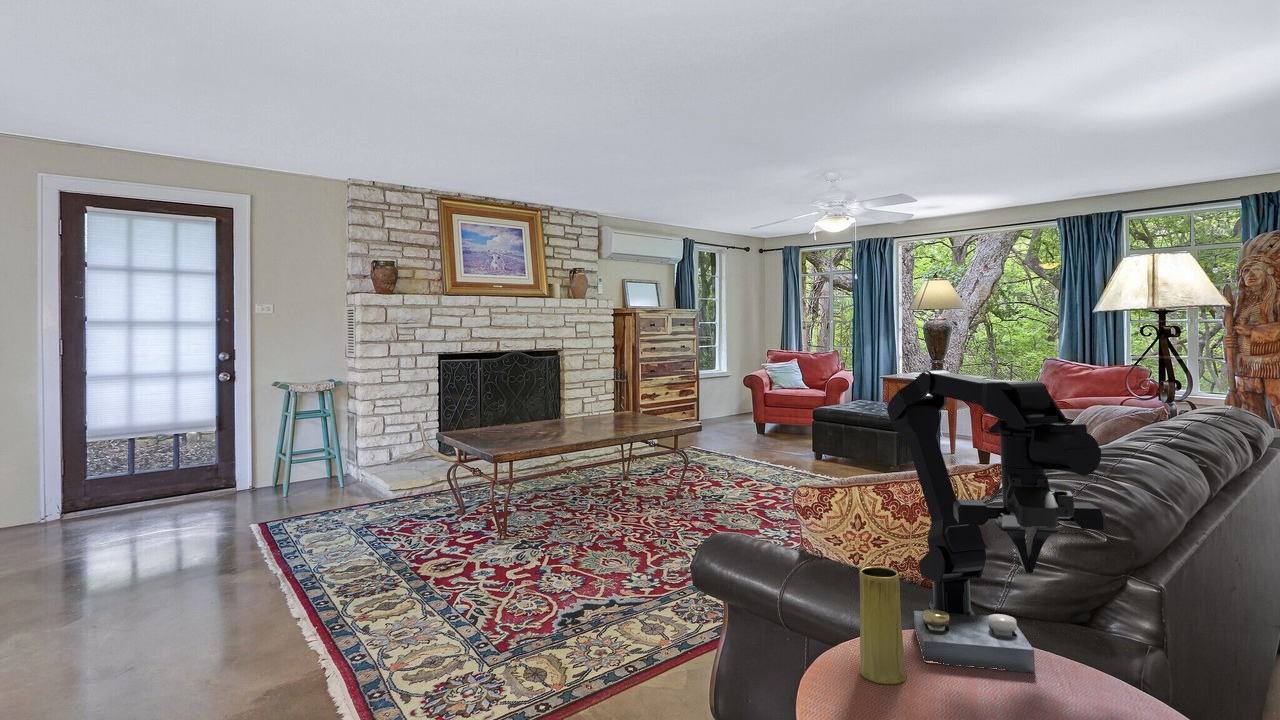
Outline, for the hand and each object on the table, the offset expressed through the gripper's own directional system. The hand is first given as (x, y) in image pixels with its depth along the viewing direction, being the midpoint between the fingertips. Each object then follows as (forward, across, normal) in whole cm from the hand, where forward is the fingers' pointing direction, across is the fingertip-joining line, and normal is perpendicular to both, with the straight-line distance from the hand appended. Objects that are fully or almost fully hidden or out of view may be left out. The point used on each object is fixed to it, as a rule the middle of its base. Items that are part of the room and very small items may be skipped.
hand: (1028, 572), depth 95 cm
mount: (+12, -8, -1) cm, 15 cm away
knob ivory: (+12, -4, 0) cm, 13 cm away
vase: (+12, -21, -12) cm, 27 cm away
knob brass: (+12, -13, -1) cm, 17 cm away
